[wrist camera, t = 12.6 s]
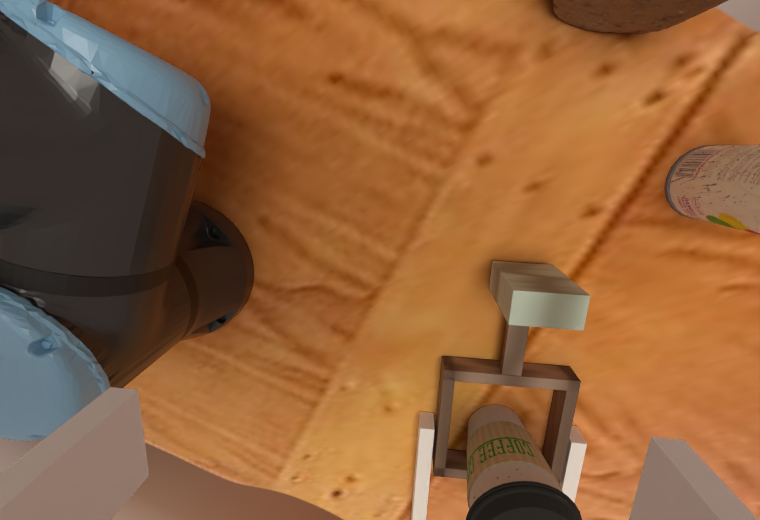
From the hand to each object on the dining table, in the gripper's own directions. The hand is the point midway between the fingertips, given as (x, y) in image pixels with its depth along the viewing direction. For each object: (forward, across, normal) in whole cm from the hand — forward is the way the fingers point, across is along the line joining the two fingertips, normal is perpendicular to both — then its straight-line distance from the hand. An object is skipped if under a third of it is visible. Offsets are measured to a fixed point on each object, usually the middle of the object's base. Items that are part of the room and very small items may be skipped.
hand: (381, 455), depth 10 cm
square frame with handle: (+33, +12, -15) cm, 38 cm away
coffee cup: (+33, +12, -23) cm, 42 cm away
